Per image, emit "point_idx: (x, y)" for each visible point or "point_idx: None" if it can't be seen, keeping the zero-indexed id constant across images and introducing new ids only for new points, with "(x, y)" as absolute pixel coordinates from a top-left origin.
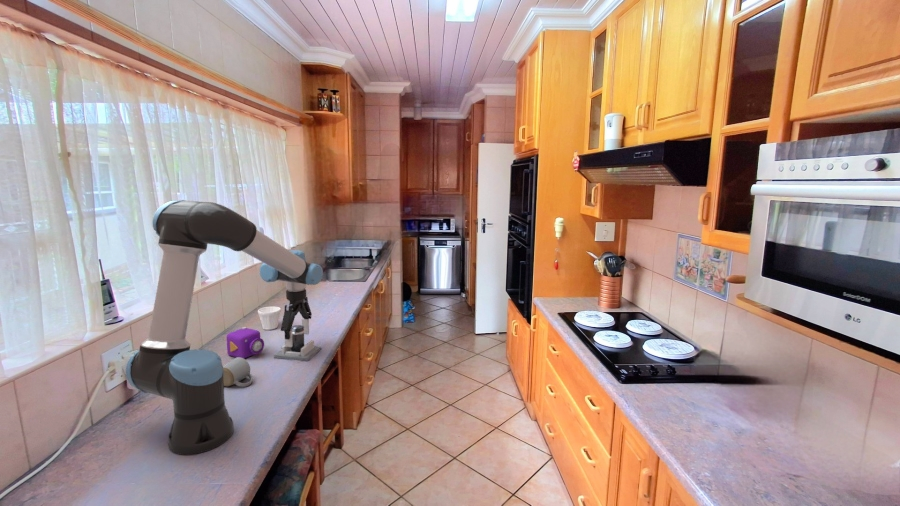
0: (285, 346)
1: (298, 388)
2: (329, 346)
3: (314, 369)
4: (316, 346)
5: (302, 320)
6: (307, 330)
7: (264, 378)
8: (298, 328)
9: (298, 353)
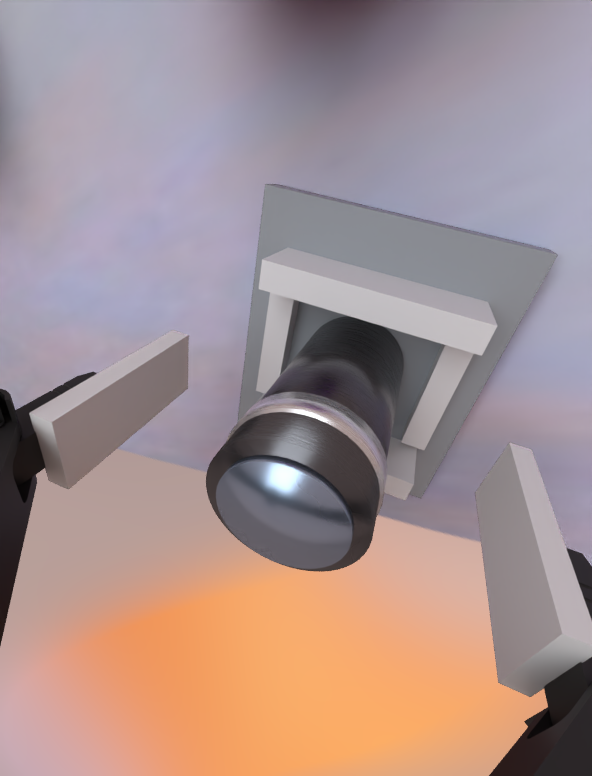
0: (284, 295)
1: (29, 402)
2: (464, 527)
3: (169, 449)
4: (424, 474)
5: (547, 616)
6: (482, 524)
7: (28, 234)
8: (229, 525)
9: (259, 386)
